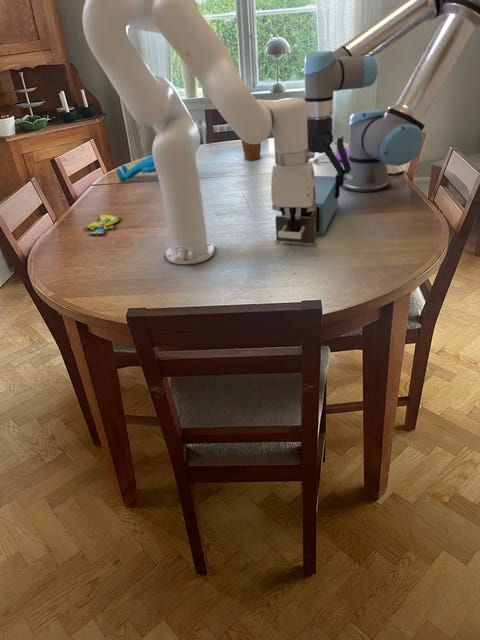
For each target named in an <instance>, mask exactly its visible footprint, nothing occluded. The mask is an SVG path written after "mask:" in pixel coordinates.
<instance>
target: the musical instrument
mask: <svg viewBox="0 0 480 640" xmlns="http://www.w3.org/2000/svg"><path fill="white" fill-rule="evenodd" d="M336 147H337V146H336ZM336 149H337V151H334V152H333V153H334V154H336V153H337V159H338V161H339V162H342V160H341V157H340V154H339V151H338V147H337V148H336ZM345 151H346V154H347V157H348V154H349V149H347V148H345ZM326 156H327V155H326V154H324V155H322V156H320V157H319V156H318V157H317V158H314V160H313V162H314V163H317V164H318V163H319V164H327V163H331V161H330V160H329V161H318V159H321V158H324V157H326ZM327 157H328V156H327Z"/></svg>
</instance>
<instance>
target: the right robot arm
mask: <svg viewBox="0 0 480 640" xmlns="http://www.w3.org/2000/svg"><path fill="white" fill-rule="evenodd" d="M442 15H443V18H442V20H441V22H440V24H439V25H438V27H437V29H436V31H435V33H434V35H433V37H432V38H431V40H430V42H429V43H428V45H427V47H426V50H425V51H424V53H423V54H422V56H421V58H420V60H419V62H418V64H417V66H416V67H415V69H414V71H413V73H412V74H411V77H410V78H409V80H408V81H407V84H406V86H405V88H404V89H403V91H402V93H401V95H400V97H399V99H398V100H397V102H396V103H395V104H394V105H390V106H388V108H387V109H372V110H363V111H358V112H354V113H352V114H351V116H350V117H349V118H350V119H349V125H348V128H349V130H348V132H349V133H348V151H349V154H348V157H347V154H346V151H345V149H346V148H345V145H344V136H343V135H340V136H334V135H333V117H332V115H333V112H334V110H333V109H334V107H333V106H334V92H338V91H345V90H355V89H363V88H364V89H365V88H368V87H371V86H373V85H374V84H375V82H376V81H377V78H378V69H379V68H378V67H379V66H378V62H377V60H376V58H375V57H376V56H377V55H379V54H380V53H382V51H384V50H386V49H387V48H389V47H390V46H392V45H393V44H394V43H396V42H397V41H399V40H400V39H401V38H403V37H405V36H406V35H407V34H409V33H410V32H411V31H413V30H415V29H416V28H417V27H418V26H420V25H421V24H423V23H424V22H427V23H430V22H432V21H433V20H435V19H436V18H438V17H440V16H442ZM479 28H480V0H404V1H403V2H401V3H400V4H399V5H396V7H394V8H392V9H391V10H390V11H388V12H387V13H386V14H385V15H383V16H382V17H380V18H379V19H377V20H376V21H375V22H373V23H372V24H370V25H369V26H368V27H366V28H365V29H364V30H362V31H360V32H359V33H358V34H356V35H355V36H354V37H352V38H350V39H349V40H348V41H347V42H346V43H344V44H343V45H341V46H340V47H338V48H337V49H335V50H334V51H333V50H332V51H331V50H330V51H329V50H327V51H325V50H324V51H313V52H309V53H307V54H306V55H305V58H304V70H303V75H304V100H305V102H306V105H307V133H308V148H309V151H310V152H314V154H315V153H317V154H323V153H324V155H327V158H328V160H329V161H331V162H330V163H331V164H332V166H333V167H334V169H335V171H336V172H337V173H336V175H335V177H336V189H335V198H338V199H339V198H340V194H341V193H340V192H341V187H342V188H343V189H345V190H348V191H350V192H359V193H370V192H371V193H372V192H378V191H382V190H384V189H386V188H388V187H389V186H390V177H397V176H401V175H404V174H405V170H402V171H397V172H393V173H392V172H388V168H387V165H391V166H395V167H398V166H404V165H406V164H409V163H411V162H412V161H413V160H414V159H415V158H416V157H417V156H418V154H419V153H420V151H421V149H422V147H423V144H424V140H423V138H424V135H423V130H424V128H425V126H426V122H425V116H426V115H427V113H428V111H429V109H430V107H431V106H432V104H433V102H434V100H435V99H436V96H437V95H438V93H439V91H440V90H441V88H442V86H443V84H444V83H445V81H446V80H447V77H448V76H449V74H450V72H451V70H452V68H453V67H454V65H455V64H456V62H457V60H458V58H459V56H460V55H461V53H462V51H463V49H464V48H465V46H466V44H467V42H468V40H469V39H470V37H471V36H472V34H473V32H474V31H475V30H476V29H479ZM333 143H334V145H335V146H336V147H338V149H337V151H339V154H340V157H341V160H342V161H338V157H337V156H336V153H334V152H333V149H332V146H331V145H332V144H333ZM341 163H342V164H341Z"/></svg>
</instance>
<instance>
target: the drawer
mask: <svg viewBox="0 0 480 640" xmlns="http://www.w3.org/2000/svg"><path fill="white" fill-rule="evenodd" d="M292 208H293V213H294V215H296V207H292ZM318 228H319V207H316V209H315V210H314V211H310V212H306V213H305V214H304V215H303V216H302V217H301V230H299V232H290V230H288V219H287V218H286V216H285V215H284V214H283V213H282V212H281V214H276V215H275V234H276V236H275V239H276V242H284V243H298V244H309V245H310V244H312V245H315V243H316V235H315V233H316V231H317V229H318Z"/></svg>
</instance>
